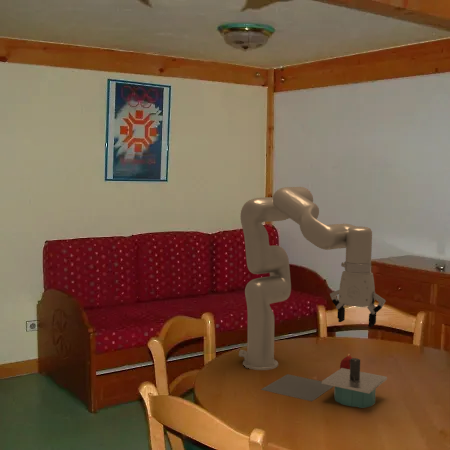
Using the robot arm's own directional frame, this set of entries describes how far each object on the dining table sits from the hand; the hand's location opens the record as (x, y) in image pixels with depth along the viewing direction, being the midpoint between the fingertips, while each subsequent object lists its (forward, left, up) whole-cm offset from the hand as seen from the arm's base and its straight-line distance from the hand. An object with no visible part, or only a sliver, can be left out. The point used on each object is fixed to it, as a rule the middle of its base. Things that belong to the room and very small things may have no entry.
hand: (356, 323), depth 197 cm
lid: (0, 0, -18) cm, 18 cm away
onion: (-10, +19, -24) cm, 32 cm away
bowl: (0, 0, -24) cm, 24 cm away
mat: (-19, 0, -24) cm, 31 cm away
